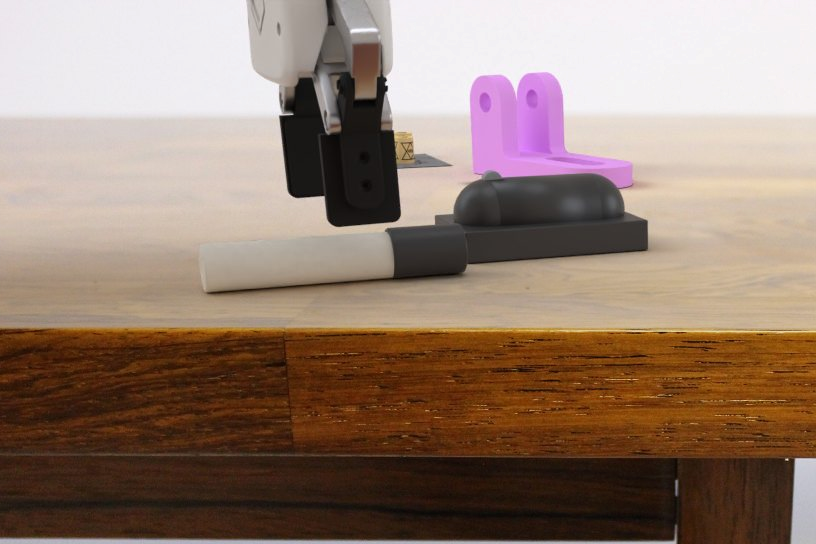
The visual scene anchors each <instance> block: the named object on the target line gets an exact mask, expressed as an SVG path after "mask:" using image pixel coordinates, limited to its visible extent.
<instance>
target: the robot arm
mask: <svg viewBox="0 0 816 544" xmlns="http://www.w3.org/2000/svg"><path fill="white" fill-rule="evenodd" d="M246 10H247V11H246V12H247V25H248V26H247V27H248V35H249V36H248V38H249V50H250V59H251V65H252V66H251V67H252V68H253V70H254V71H255V72H256V73H257V74H258V75H259V76H260V77H262V78H263V79H265V80H267V81H269V82H272V83H273V84H277V85H278V101H279V103H278V104H279V108H280V112H281V114H279V115H278V118H279V129H280V137H281V145H282V156H283V163H284V171H285V181H286V190H287V193H288V194H289V195H290V196H291V197H292V198H294V199H307V198H318V197H324V206H325V214H326V215H325V216H326V220H327V222H328V223H329V224H330V225H331V226H333V227H335V228H346V227H357V226H367V225H368V226H369V225H379V224H390V223H391V224H392V223H396V222H397V221H399V220H400V218H401V217H402V216H401V215H402V206H401V196H400V186H399V185H400V184H399V174H398V168H397V161H396V149H395V138H394V132H395V130H394V129H393V125H394V124H393V121H394V120H393V113H392V109H391V108H392V107H391V105H390V101H389V96H388V94H387V92H388V91H389V85H388V84H387V85H386V83H387V82H388V79H387V76H388V75H389V74H390V73H391V71H392V69H393V66H394V65H393V64H394V42H393V40H394V39H393V23H392V22H393V21H392V9H391V0H246Z"/></svg>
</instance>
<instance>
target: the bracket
mask: <svg viewBox="0 0 816 544" xmlns="http://www.w3.org/2000/svg"><path fill="white" fill-rule="evenodd" d="M469 110H470V111H469V113H470V132H471V154H472V156H471V157H472V173H473V174H478V175H483V174H484V173H485V172H486V171H488V170H493V171H496V172H498V173H499V174H500V175H501V176H502V177H520V176H539V175H558V174H577V173H594V174H599V175H602V176H604V177H606V178H608V179H609V180H611V181H612V182H613V183H614V184H615V185H616V186H617V188H618V189H623V188H627V187H630V186H632V185H633V182H634V181H633V162H631V161H628V160H624V159H616V158H609V157H602V156H597V155H596V156H595V155H588V154H581V153H574V152H568V151H567V149H566V147H565V117H564V112H565V111H564V94H563V90H562V87H561V84H560V82H559V80H558V78H557V77H556V76H555V75H554V74H552V73H550V72H548V71H544V72H543V71H542V72H541V71H540V72H527V73H525V74H524V75H523V76H522V77H521V78H520V80H519V81H518V84H517V89H516V91H515V87H514V85H513V84H512V82H511V81H510V79H509V78H507V76H505V75H503V74H488V75H487V74H485V75H480V76H478V77H476V78H475V79H474V81H473V82H472V85H471V87H470V92H469Z"/></svg>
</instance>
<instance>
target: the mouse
mask: <svg viewBox="0 0 816 544" xmlns="http://www.w3.org/2000/svg"><path fill="white" fill-rule="evenodd" d="M625 210H626V206H625V200H624V197H623V194H622V192H621V191H620V188H617V186H616V185H615V184H614V183H613V182H612V181H611V180H609V179H608V178H606V177H604V176H602V175H599V174H594V173H577V174H558V175H539V176H520V177H502V176H501V175H500V174H499V173H498V172H496V171H493V170H488V171H486V172H485V173H484V174H481V178H479V179H476V180H473V181H472V182H470V183H469V184H467V185H465V186H464V188H462V190H460V192H459V193H458V195H457V196H456V198H455V202H454V205H453V213H447V214H444V213H443V214H435V215H434V225H438V224H454V223H458V224H460V225H461V226H462V228H463V230H464V232H465V236H466V240H467V247H468V263H467V264H477V263H492V262H503V261H517V260H518V261H519V260H530V259H531V260H532V259H543V258H555V257H556V258H557V257H570V256H582V255H596V254H597V255H598V254H609V253H623V252H634V251H635V252H636V251H648V250H649V221H648V219H646V218H643V217H640V216H637V215H635V214H633V213H631V212H628V211H625Z"/></svg>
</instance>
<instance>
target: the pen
mask: <svg viewBox="0 0 816 544" xmlns="http://www.w3.org/2000/svg"><path fill="white" fill-rule="evenodd" d="M197 254H198V255H197V256H198V257H197V258H198V266H199V267H198V268H199V273H200V279H201V285H202V289H203V291H204V292H205V293H217V292H229V291H242V290H256V289H267V288H268V289H269V288H279V287H292V286H305V285H307V286H308V285H318V284H331V283H345V282H357V281H368V280H380V279H381V280H382V279H398V278H411V277H412V278H413V277H423V276H435V275H436V276H438V275H448V274H449V275H450V274H460V273H465V272H466V271H467V267H468V264H469V263H468V247H467V240H466V236H465V232H464V230H463V228H462V226H461V225H460V224H458V223H454V224H438V225H435V224H426V225H424V224H423V225H410V226H397V227H396V226H394V227H387V228H385V229H384V231H377V232H363V233H362V232H361V233H345V234H332V235H331V234H330V235H319V236H302V237H301V236H299V237H287V238H286V237H285V238H274V239H273V238H272V239H259V240H258V239H257V240H244V241H243V240H241V241H227V242H225V241H224V242H212V243H200V244H199V245H198V249H197Z"/></svg>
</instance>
